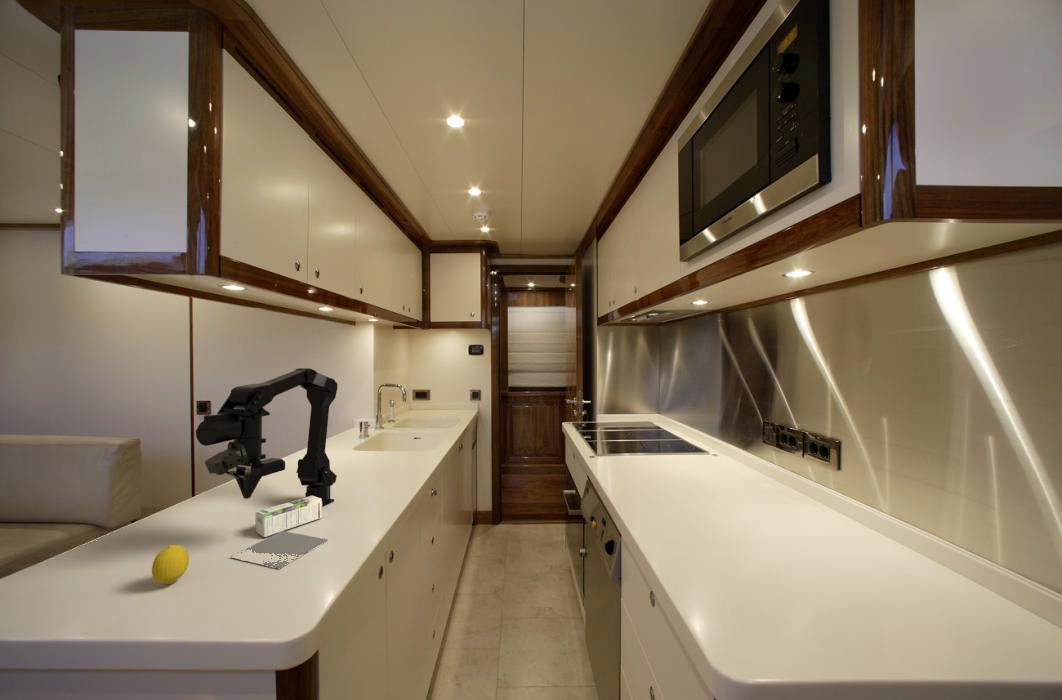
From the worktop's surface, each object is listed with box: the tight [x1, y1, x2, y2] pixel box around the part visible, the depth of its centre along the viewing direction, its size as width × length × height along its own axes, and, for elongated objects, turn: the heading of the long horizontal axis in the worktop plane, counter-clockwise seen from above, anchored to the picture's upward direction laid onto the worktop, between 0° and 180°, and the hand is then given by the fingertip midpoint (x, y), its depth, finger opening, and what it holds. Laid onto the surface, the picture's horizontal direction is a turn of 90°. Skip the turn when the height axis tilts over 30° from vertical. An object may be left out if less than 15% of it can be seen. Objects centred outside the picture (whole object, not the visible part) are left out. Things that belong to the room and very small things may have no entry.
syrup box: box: [255, 496, 323, 538], centre depth 103 cm, size 6×6×14 cm
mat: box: [230, 530, 328, 569], centre depth 90 cm, size 13×15×1 cm
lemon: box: [151, 544, 190, 585], centre depth 77 cm, size 6×6×8 cm
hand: (247, 498), depth 94 cm, fingers closed
